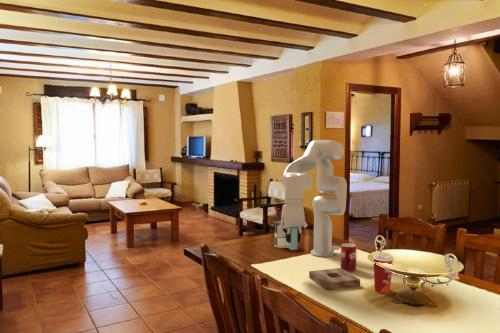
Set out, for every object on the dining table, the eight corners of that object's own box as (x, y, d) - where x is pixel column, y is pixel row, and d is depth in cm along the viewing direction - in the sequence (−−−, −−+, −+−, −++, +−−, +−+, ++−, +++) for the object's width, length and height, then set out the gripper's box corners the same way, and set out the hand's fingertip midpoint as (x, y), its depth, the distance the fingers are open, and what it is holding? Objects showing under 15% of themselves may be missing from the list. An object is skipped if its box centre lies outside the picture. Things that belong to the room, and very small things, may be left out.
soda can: (357, 268, 197) (357, 244, 196) (354, 273, 190) (355, 247, 189) (342, 266, 200) (342, 242, 199) (338, 270, 193) (339, 245, 192)
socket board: (340, 274, 188) (340, 268, 188) (360, 286, 173) (360, 279, 173) (309, 277, 183) (309, 271, 183) (326, 290, 168) (326, 283, 168)
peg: (295, 247, 188) (295, 225, 188) (299, 249, 185) (299, 227, 184) (287, 247, 187) (287, 226, 186) (290, 250, 183) (290, 228, 183)
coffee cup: (390, 296, 162) (391, 258, 161) (369, 291, 167) (370, 255, 166) (395, 289, 169) (396, 253, 168) (375, 285, 174) (375, 250, 173)
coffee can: (270, 245, 239) (270, 221, 238) (282, 242, 246) (282, 219, 245) (283, 249, 231) (283, 224, 230) (295, 245, 238) (295, 222, 237)
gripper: (306, 199, 190) (306, 238, 192) (272, 201, 185) (272, 241, 187) (313, 202, 183) (313, 242, 185) (279, 204, 178) (279, 245, 180)
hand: (293, 241), depth 186 cm, fingers closed on peg, 4 cm apart
